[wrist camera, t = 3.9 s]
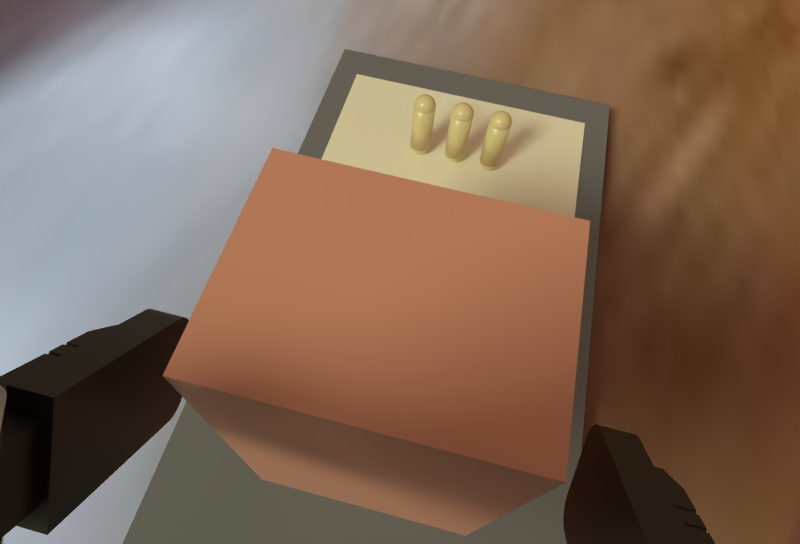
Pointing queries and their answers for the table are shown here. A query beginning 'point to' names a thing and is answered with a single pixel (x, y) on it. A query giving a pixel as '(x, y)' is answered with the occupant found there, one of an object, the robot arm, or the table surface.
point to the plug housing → (391, 342)
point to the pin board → (433, 164)
